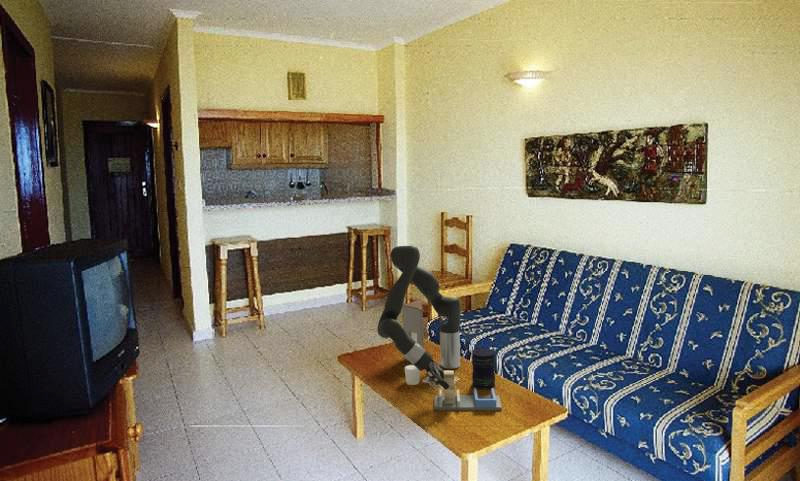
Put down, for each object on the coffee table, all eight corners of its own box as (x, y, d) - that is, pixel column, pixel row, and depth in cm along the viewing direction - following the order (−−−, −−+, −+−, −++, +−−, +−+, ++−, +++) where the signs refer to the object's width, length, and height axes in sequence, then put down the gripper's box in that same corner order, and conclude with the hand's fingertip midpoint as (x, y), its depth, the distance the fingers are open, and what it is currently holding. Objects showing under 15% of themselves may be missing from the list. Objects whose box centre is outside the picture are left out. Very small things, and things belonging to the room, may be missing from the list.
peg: (444, 399, 215) (443, 370, 213) (454, 399, 215) (453, 370, 213) (444, 403, 211) (443, 374, 209) (454, 403, 211) (454, 374, 209)
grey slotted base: (434, 398, 219) (434, 388, 218) (498, 398, 217) (498, 388, 216) (434, 410, 208) (434, 400, 208) (501, 410, 206) (501, 399, 205)
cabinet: (424, 366, 254) (422, 309, 251) (404, 367, 255) (401, 310, 251) (422, 351, 275) (421, 298, 271) (404, 352, 275) (402, 299, 272)
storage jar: (500, 386, 229) (499, 345, 226) (481, 391, 224) (481, 350, 222) (485, 378, 237) (484, 339, 235) (467, 383, 233) (466, 343, 230)
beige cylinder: (422, 380, 238) (421, 365, 237) (417, 386, 232) (417, 370, 231) (407, 378, 240) (407, 363, 240) (402, 384, 234) (402, 369, 233)
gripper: (423, 355, 204) (454, 384, 204) (425, 343, 218) (454, 370, 218) (410, 369, 205) (441, 397, 205) (412, 356, 219) (441, 382, 220)
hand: (447, 383), depth 212 cm, fingers open, 8 cm apart
